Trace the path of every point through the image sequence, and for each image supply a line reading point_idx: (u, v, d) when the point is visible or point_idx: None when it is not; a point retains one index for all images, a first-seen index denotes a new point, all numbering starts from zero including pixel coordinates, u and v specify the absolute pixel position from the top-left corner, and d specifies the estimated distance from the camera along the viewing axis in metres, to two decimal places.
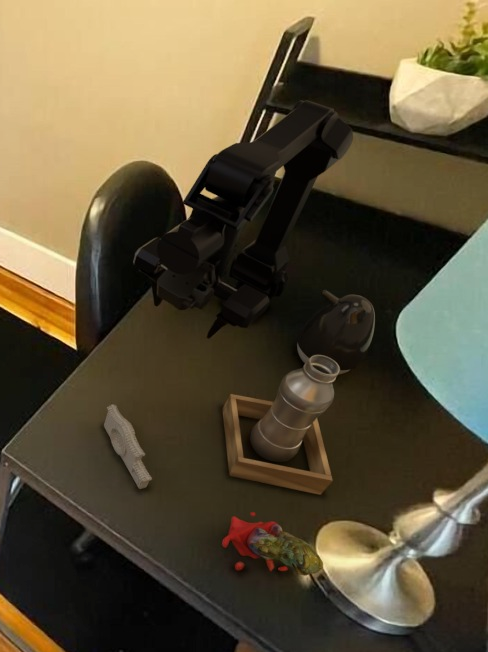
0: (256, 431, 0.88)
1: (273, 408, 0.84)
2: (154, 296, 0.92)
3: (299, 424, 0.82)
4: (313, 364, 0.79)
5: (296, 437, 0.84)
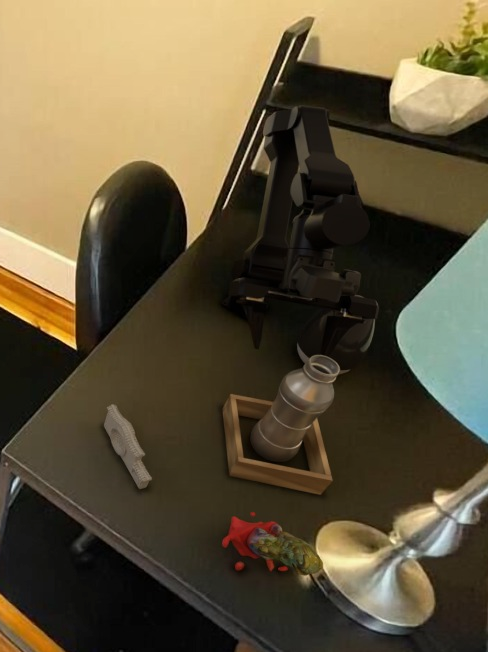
0: (256, 431, 0.88)
1: (273, 408, 0.84)
2: (257, 334, 0.87)
3: (299, 424, 0.82)
4: (313, 364, 0.79)
5: (296, 437, 0.84)
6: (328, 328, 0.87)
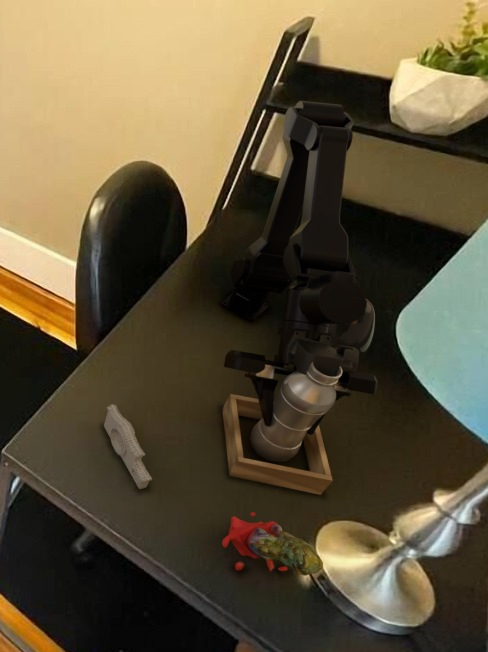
0: (256, 431, 0.88)
1: (274, 409, 0.84)
2: (268, 412, 0.85)
3: (300, 425, 0.82)
4: None
5: (297, 437, 0.84)
6: None
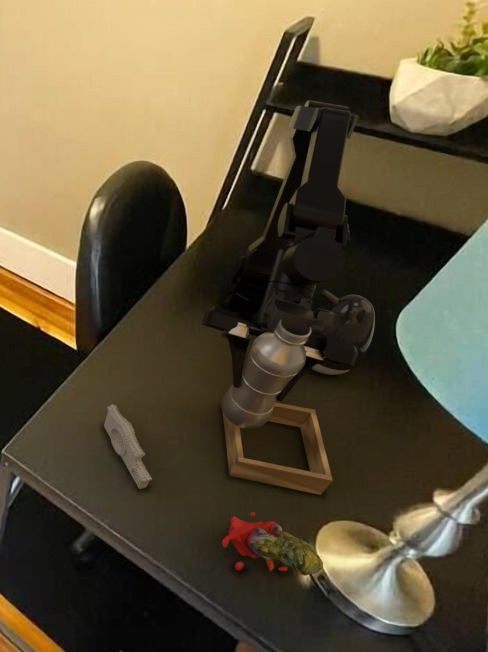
0: (227, 394, 0.86)
1: (243, 369, 0.82)
2: (237, 372, 0.82)
3: (266, 388, 0.79)
4: None
5: (264, 402, 0.81)
6: None
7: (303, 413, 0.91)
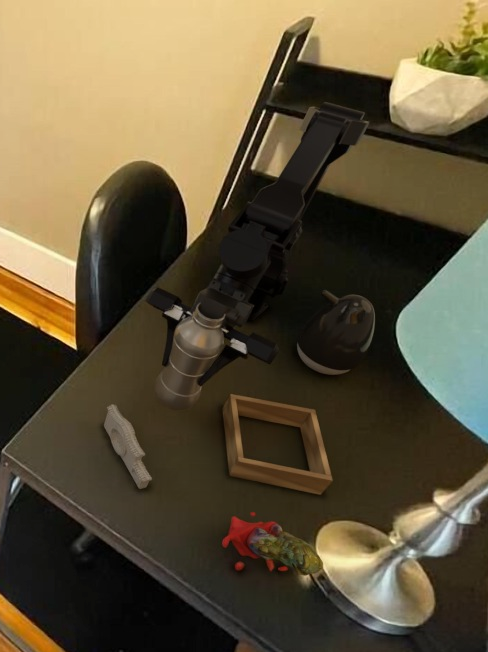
0: None
1: None
2: (166, 351, 0.87)
3: (184, 368, 0.84)
4: None
5: (184, 383, 0.86)
6: None
7: (303, 413, 0.91)
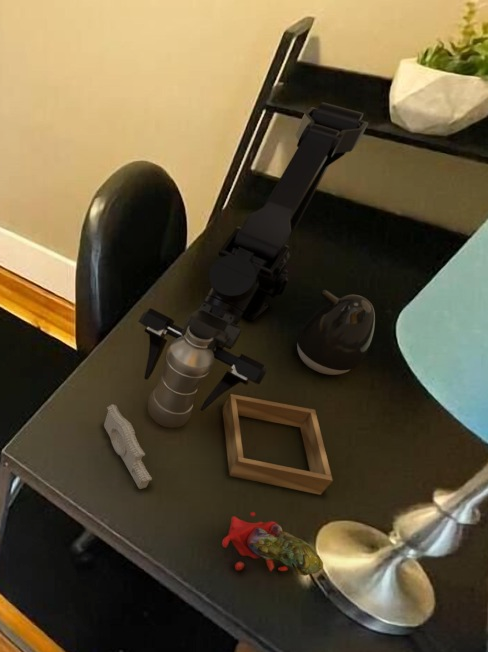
0: None
1: None
2: (148, 365, 0.91)
3: (176, 386, 0.87)
4: None
5: (176, 401, 0.89)
6: None
7: (303, 413, 0.91)
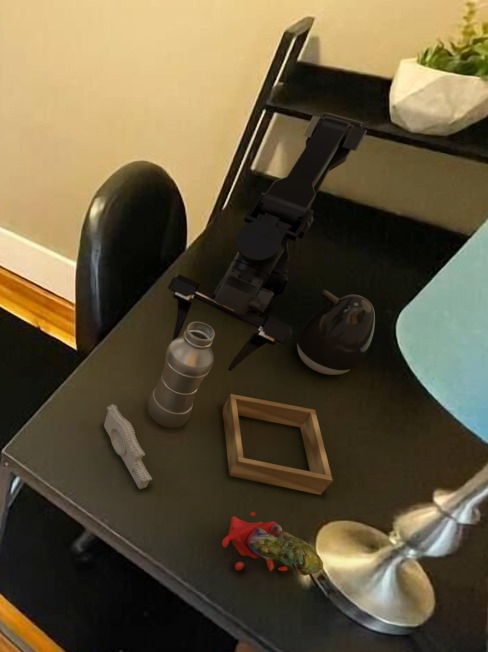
0: None
1: None
2: (176, 329, 0.94)
3: (176, 386, 0.87)
4: (199, 332, 0.84)
5: (176, 401, 0.89)
6: (246, 343, 0.92)
7: (303, 413, 0.91)
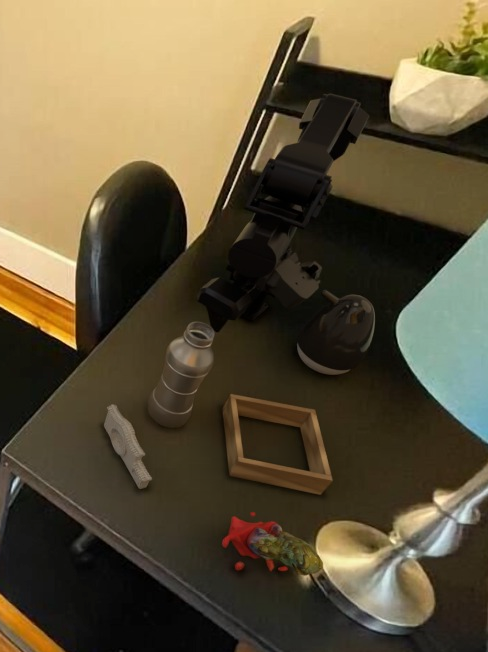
0: None
1: None
2: None
3: (176, 386, 0.87)
4: (199, 332, 0.84)
5: (176, 401, 0.89)
6: None
7: (303, 413, 0.91)
